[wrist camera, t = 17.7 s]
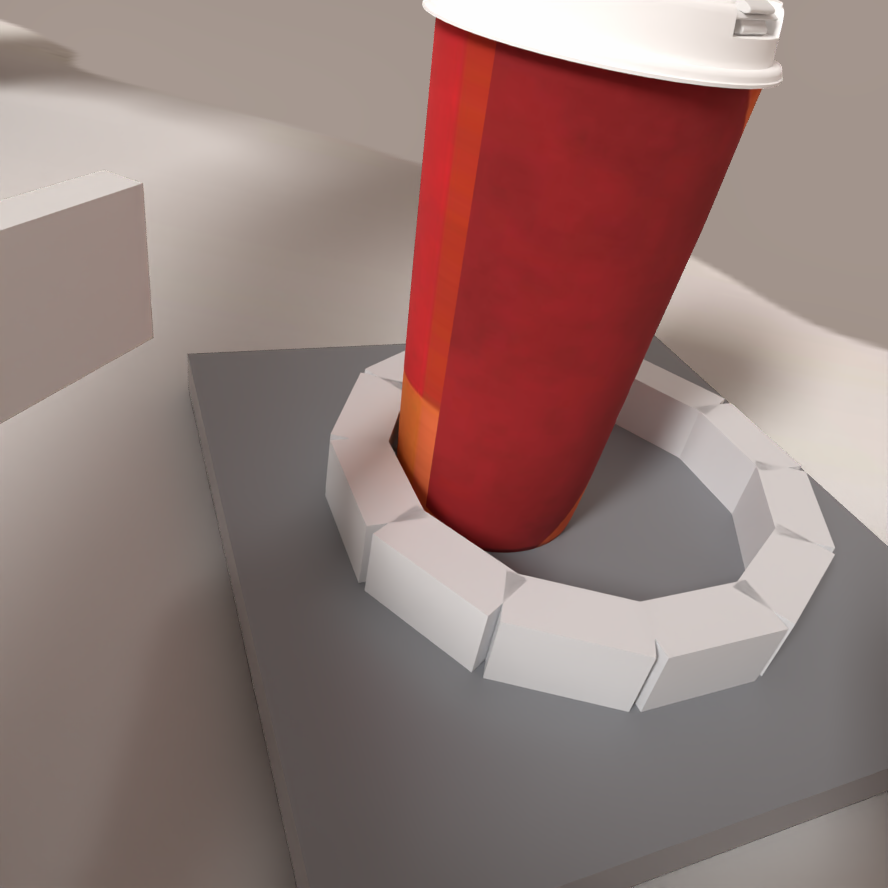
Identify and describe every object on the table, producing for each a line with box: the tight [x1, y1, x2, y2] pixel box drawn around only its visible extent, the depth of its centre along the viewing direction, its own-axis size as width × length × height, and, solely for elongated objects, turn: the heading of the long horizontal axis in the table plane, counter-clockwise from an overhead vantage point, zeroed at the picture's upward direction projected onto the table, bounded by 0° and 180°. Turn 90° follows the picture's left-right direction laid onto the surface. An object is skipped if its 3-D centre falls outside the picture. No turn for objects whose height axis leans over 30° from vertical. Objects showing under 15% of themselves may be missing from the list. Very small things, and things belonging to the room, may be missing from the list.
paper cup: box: [397, 0, 784, 553], centre depth 20 cm, size 8×8×14 cm
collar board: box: [187, 335, 888, 888], centre depth 24 cm, size 20×20×4 cm
